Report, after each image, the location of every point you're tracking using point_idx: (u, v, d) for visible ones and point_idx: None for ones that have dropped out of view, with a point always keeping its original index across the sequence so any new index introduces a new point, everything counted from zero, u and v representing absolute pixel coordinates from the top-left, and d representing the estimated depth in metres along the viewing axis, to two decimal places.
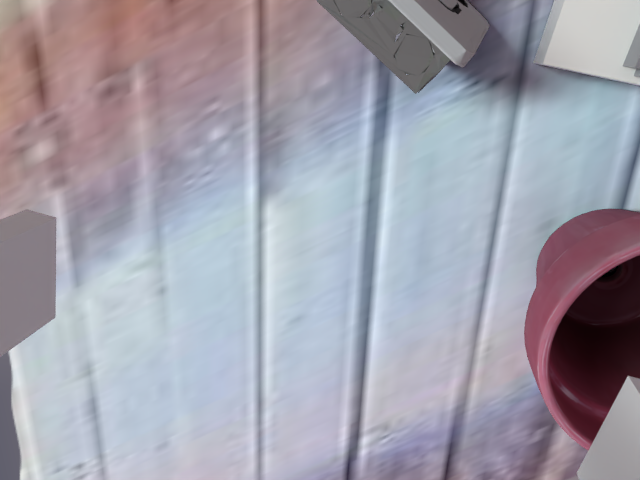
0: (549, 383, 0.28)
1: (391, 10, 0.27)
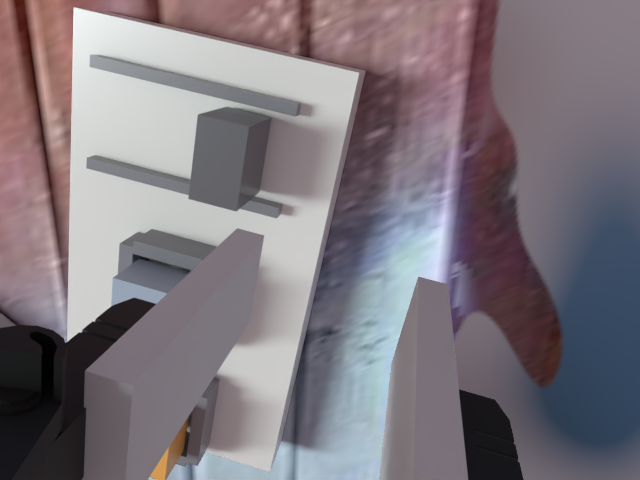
0: None
1: None
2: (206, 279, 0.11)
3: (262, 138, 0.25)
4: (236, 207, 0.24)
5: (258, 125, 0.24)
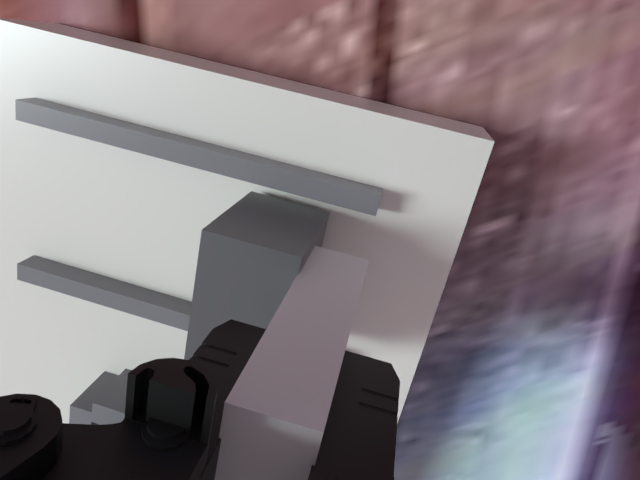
0: None
1: None
2: (304, 301, 0.11)
3: None
4: None
5: (314, 240, 0.13)
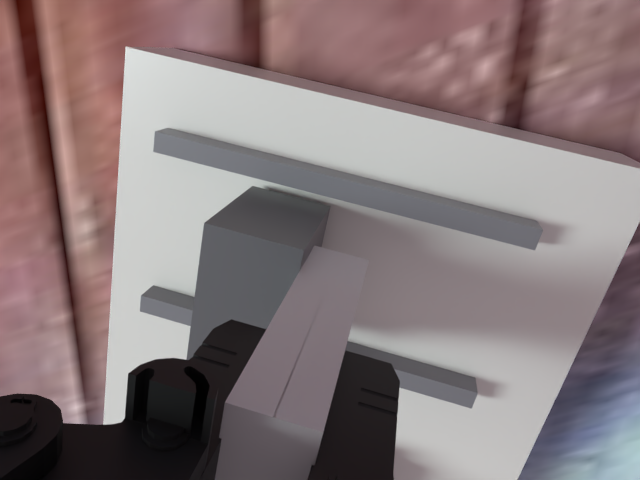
0: None
1: None
2: (304, 301, 0.11)
3: None
4: None
5: (316, 233, 0.13)
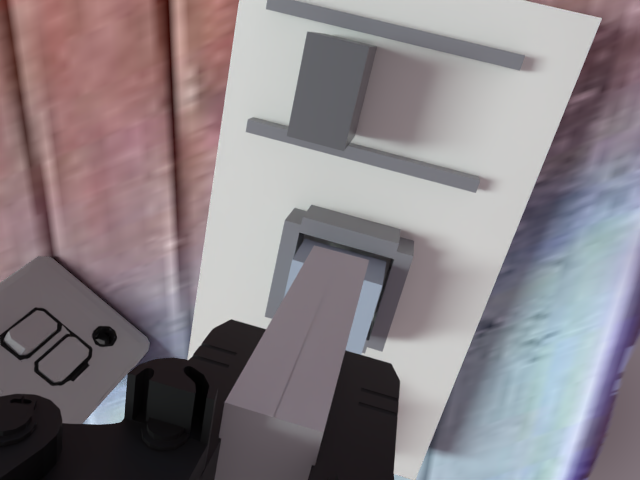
0: None
1: None
2: (303, 301, 0.11)
3: (369, 68, 0.21)
4: (344, 146, 0.20)
5: (372, 49, 0.20)
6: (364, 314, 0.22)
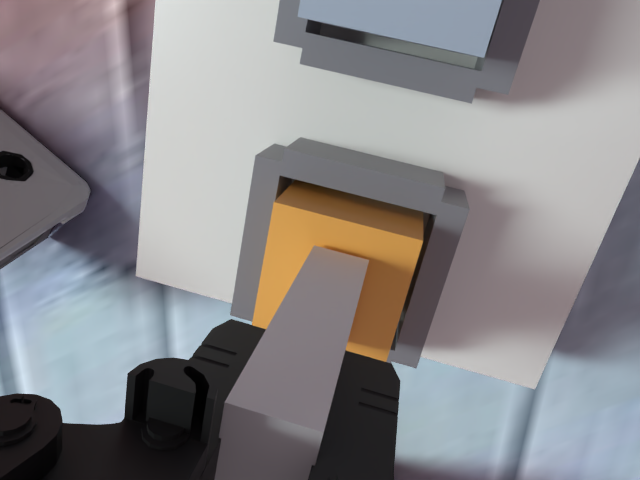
0: None
1: None
2: (304, 301, 0.11)
3: None
4: None
5: None
6: None
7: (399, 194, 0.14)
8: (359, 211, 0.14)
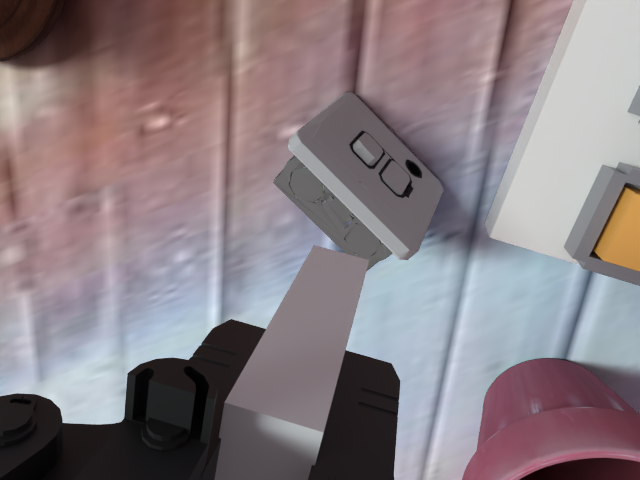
0: None
1: (342, 202, 0.28)
2: (303, 301, 0.11)
3: None
4: None
5: None
6: None
7: None
8: None
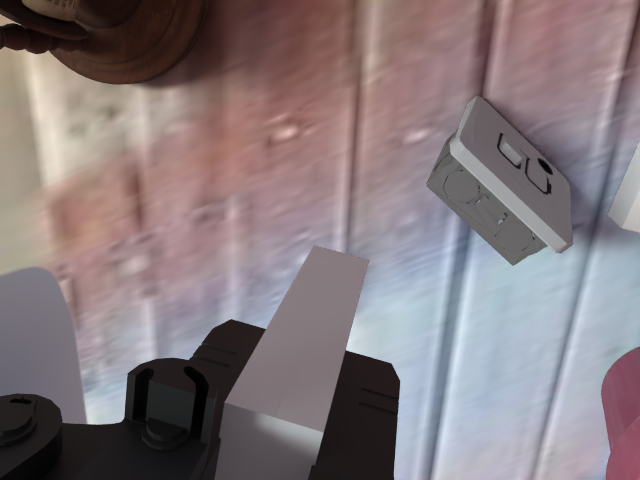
0: None
1: (497, 201, 0.30)
2: (303, 301, 0.11)
3: None
4: None
5: None
6: None
7: None
8: None
